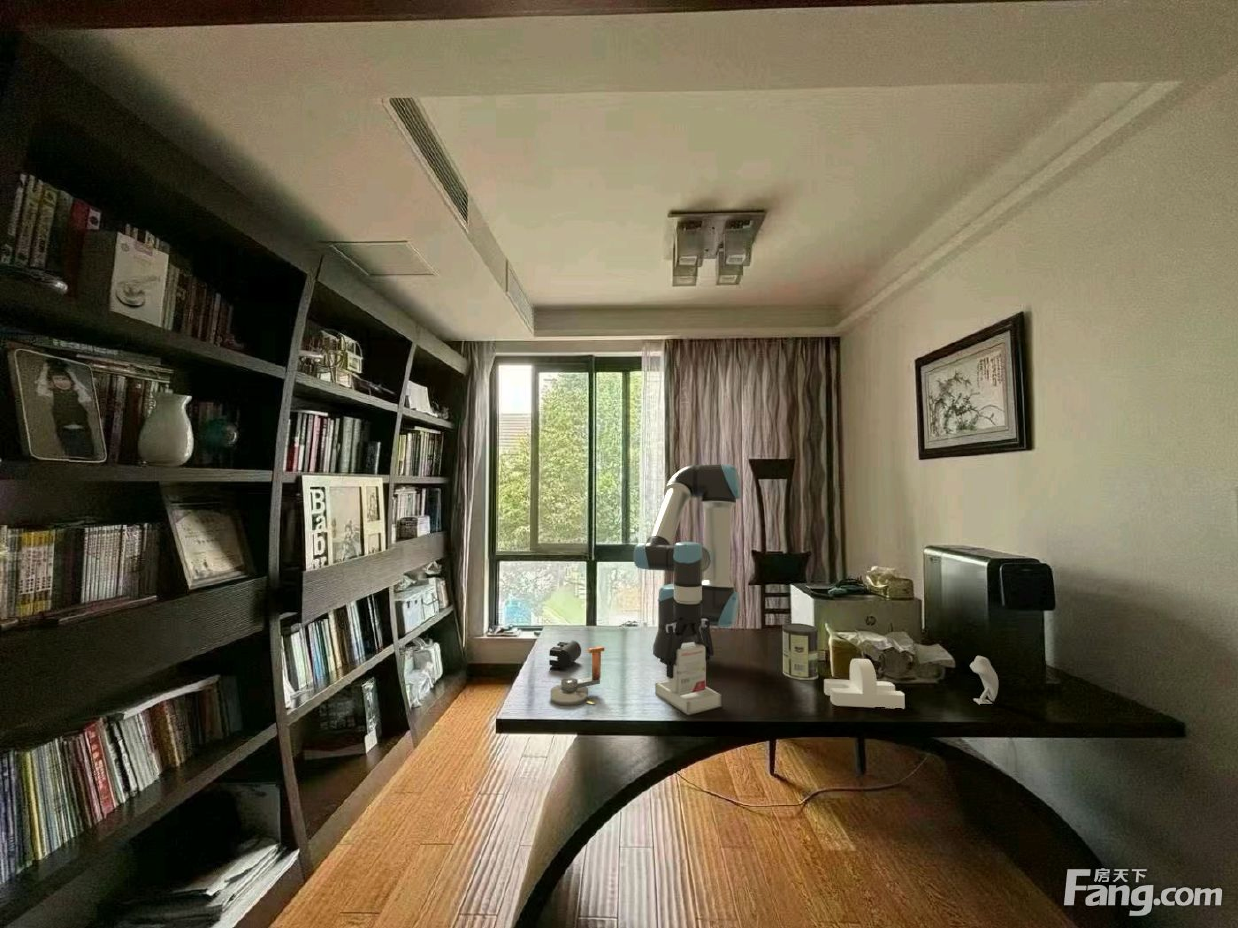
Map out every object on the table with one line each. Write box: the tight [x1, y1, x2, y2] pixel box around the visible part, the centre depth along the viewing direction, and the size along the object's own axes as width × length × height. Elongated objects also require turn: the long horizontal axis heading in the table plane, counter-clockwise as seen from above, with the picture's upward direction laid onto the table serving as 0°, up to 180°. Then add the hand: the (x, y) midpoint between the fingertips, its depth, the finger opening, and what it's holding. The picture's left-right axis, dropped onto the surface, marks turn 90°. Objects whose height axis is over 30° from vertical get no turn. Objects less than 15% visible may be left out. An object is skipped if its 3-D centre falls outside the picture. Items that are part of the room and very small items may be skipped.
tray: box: [654, 679, 722, 716], centre depth 136 cm, size 11×15×3 cm
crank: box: [560, 646, 605, 692], centre depth 139 cm, size 12×4×10 cm, turn 120°
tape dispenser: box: [823, 658, 906, 710], centre depth 138 cm, size 10×18×11 cm, turn 84°
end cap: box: [548, 639, 582, 672], centre depth 161 cm, size 10×7×7 cm
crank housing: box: [549, 683, 596, 707], centre depth 136 cm, size 10×12×2 cm
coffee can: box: [781, 622, 819, 681], centre depth 156 cm, size 10×10×14 cm
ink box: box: [673, 642, 706, 696], centre depth 136 cm, size 9×5×12 cm, turn 116°
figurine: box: [969, 655, 999, 705], centre depth 137 cm, size 8×5×12 cm
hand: (687, 686), depth 136 cm, fingers closed on ink box, 9 cm apart
